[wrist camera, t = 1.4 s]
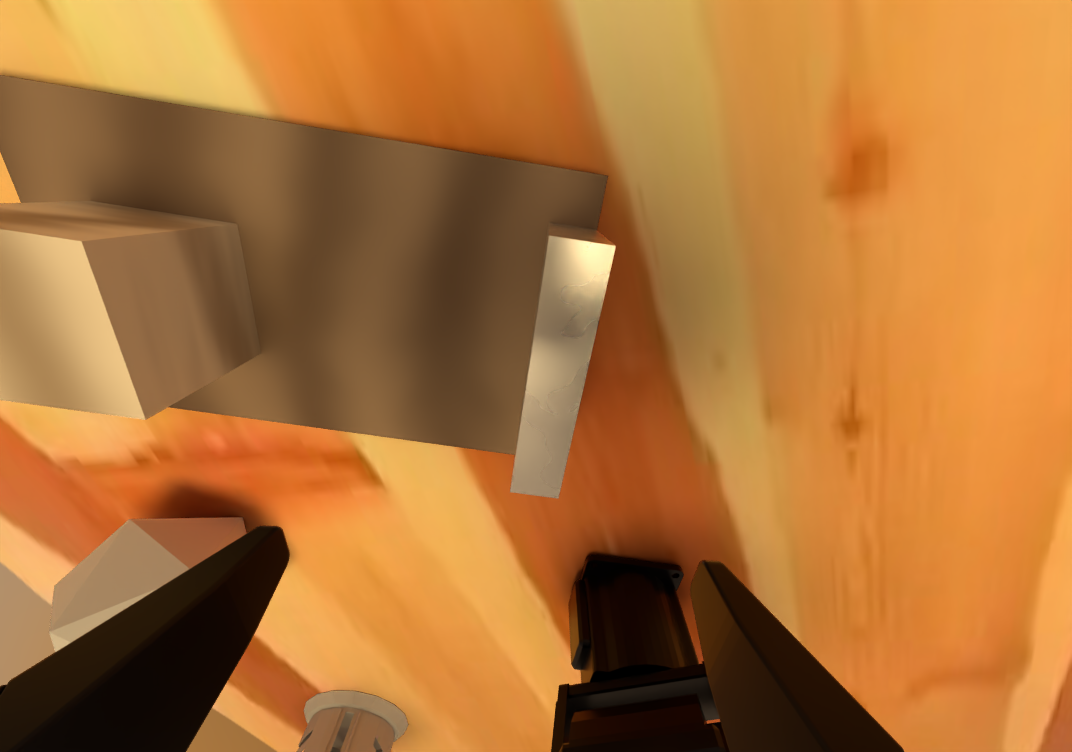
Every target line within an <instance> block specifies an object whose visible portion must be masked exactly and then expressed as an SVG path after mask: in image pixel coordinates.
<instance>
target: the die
mask: <svg viewBox="0 0 1072 752" xmlns="http://www.w3.org/2000/svg"><path fill="white" fill-rule="evenodd" d="M245 534H247V533H246V529H245V525H244V521H243V517H225V518H162V519H129V520H128V521H127V522H126V523H124V524H123V525H122V526H121V527H120V528H119V529H118V530H117V531H115V532H114V533H113V534H112V535H111V536H110V537H109V538H108V539H106V540H105V541H104V542H103V543H102V544H101V545H100V546H99V547H97V548H96V549H95V550H94V551H93V552H92V553H91V554H90V555H88V556H87V557H86V558H85V559H84V560H83V561H82V562H81V563H79V564H78V565H77V566H76V567H75V568H74V569H73V570H72V571H70V572H69V573H68V574H67V575H66V576H65V577H64V578H63V579H61V580H60V581H59V582H58V583H57V584H56V585H55V586H54V593H53V602H52V611H51V619H50V629H49V634H50V637H51V640H52V643H53V646H54V649H55V652H56V651H58V650H60V649H61V648H63V647H64V646H66V645H68V644H69V643H71V642H72V641H74V640H76V639H77V638H79V637H81V636H82V635H84V634H85V633H87V632H89V631H90V630H92V629H93V628H95V627H97V626H98V625H100V624H102V623H103V622H105V621H106V620H108V619H110V618H111V617H113V616H114V615H116V614H118V613H119V612H121V611H122V610H124V609H126V608H127V607H129V606H131V605H132V604H134V603H135V602H137V601H139V600H140V599H142V598H143V597H145V596H147V595H148V594H150V593H151V592H153V591H155V590H156V589H158V588H160V587H161V586H163V585H164V584H166V583H168V582H169V581H171V580H172V579H174V578H176V577H177V576H179V575H180V574H182V573H184V572H185V571H187V570H189V569H190V568H192V567H193V566H195V565H197V564H198V563H200V562H201V561H203V560H205V559H206V558H208V557H209V556H211V555H213V554H214V553H216V552H218V551H219V550H221V549H222V548H224V547H226V546H227V545H229V544H230V543H232V542H234V541H235V540H237V539H238V538H240V537H242V536H243V535H245Z"/></svg>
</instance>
